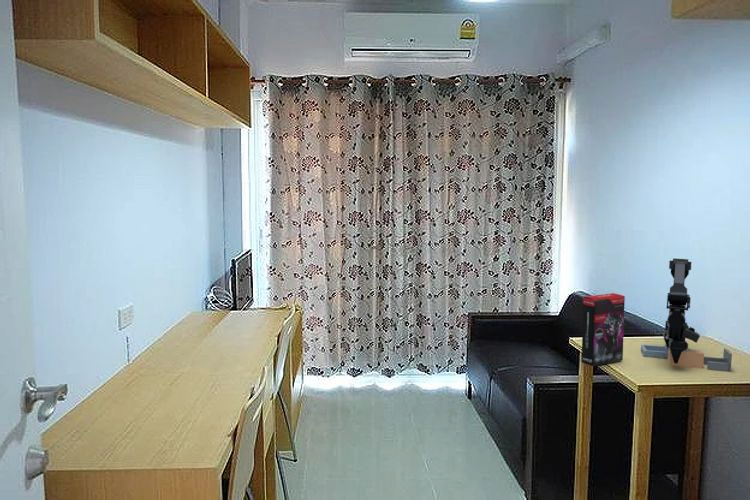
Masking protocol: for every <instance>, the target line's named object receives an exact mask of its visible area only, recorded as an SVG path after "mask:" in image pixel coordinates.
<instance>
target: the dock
mask: <svg viewBox="0 0 750 500" xmlns="http://www.w3.org/2000/svg"><path fill="white" fill-rule="evenodd" d="M722 354H723V356H722V357H716V356H715V357H714V356H704V362H703V366H704V365H706V369H707V370H708V371H721V372H729V373H730V372H732V371H731V369H732V357H733V354H732V352H731V351H730V350H729V349H728V348H727V347H726V348H723V353H722Z"/></svg>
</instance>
